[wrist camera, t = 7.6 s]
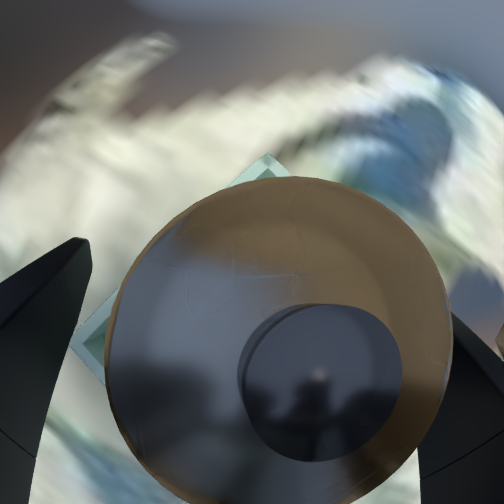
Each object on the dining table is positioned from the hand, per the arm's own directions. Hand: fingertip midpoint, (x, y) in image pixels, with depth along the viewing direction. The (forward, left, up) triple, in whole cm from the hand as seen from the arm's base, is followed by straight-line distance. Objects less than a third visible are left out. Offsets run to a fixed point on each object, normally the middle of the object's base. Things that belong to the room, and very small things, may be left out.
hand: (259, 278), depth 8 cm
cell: (-1, -1, -9) cm, 9 cm away
